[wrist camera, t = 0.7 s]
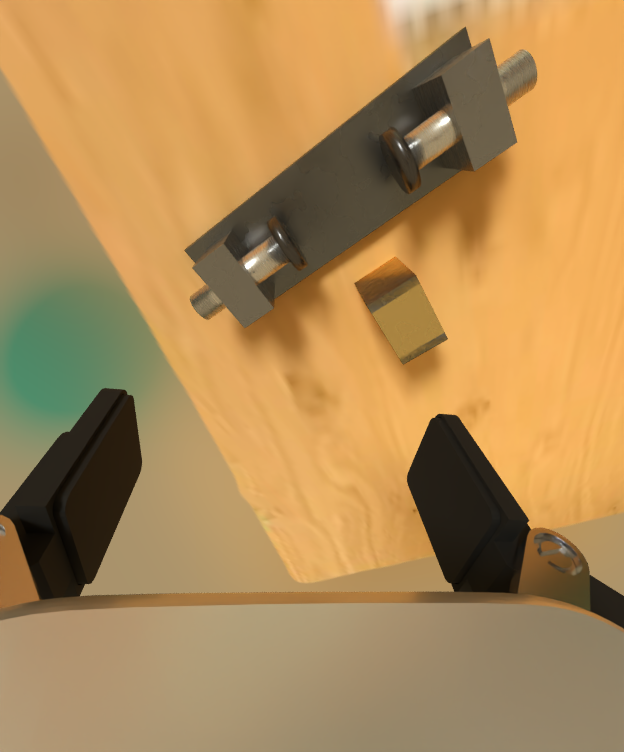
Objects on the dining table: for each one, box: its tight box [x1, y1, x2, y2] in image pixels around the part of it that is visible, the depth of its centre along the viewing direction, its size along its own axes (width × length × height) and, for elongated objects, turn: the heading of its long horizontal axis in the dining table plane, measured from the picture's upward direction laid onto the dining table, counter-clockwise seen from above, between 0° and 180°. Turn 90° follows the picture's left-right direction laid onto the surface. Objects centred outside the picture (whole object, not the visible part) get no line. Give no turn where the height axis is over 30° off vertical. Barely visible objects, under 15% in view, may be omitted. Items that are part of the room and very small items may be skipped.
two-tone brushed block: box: [354, 257, 448, 364], centre depth 33 cm, size 7×4×6 cm, turn 34°
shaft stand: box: [184, 27, 537, 328], centre depth 27 cm, size 28×8×7 cm, turn 124°
